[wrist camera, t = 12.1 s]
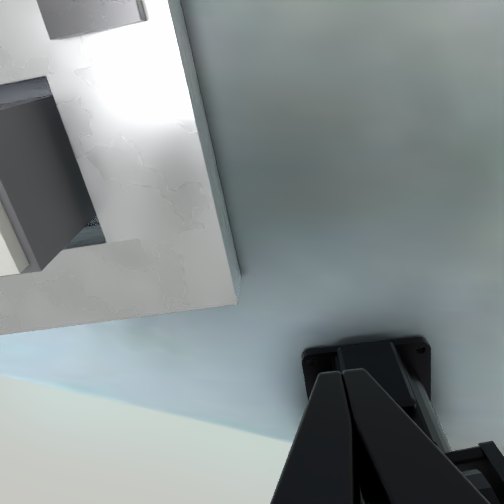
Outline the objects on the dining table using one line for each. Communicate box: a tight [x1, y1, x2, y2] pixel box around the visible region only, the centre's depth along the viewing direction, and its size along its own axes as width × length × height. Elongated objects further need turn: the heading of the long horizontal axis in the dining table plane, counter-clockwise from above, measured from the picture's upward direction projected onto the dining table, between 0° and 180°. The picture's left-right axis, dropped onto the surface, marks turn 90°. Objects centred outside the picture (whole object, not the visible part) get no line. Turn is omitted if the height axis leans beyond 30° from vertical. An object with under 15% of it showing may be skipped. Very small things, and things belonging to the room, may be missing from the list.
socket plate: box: [0, 0, 241, 335], centre depth 17 cm, size 14×13×3 cm
